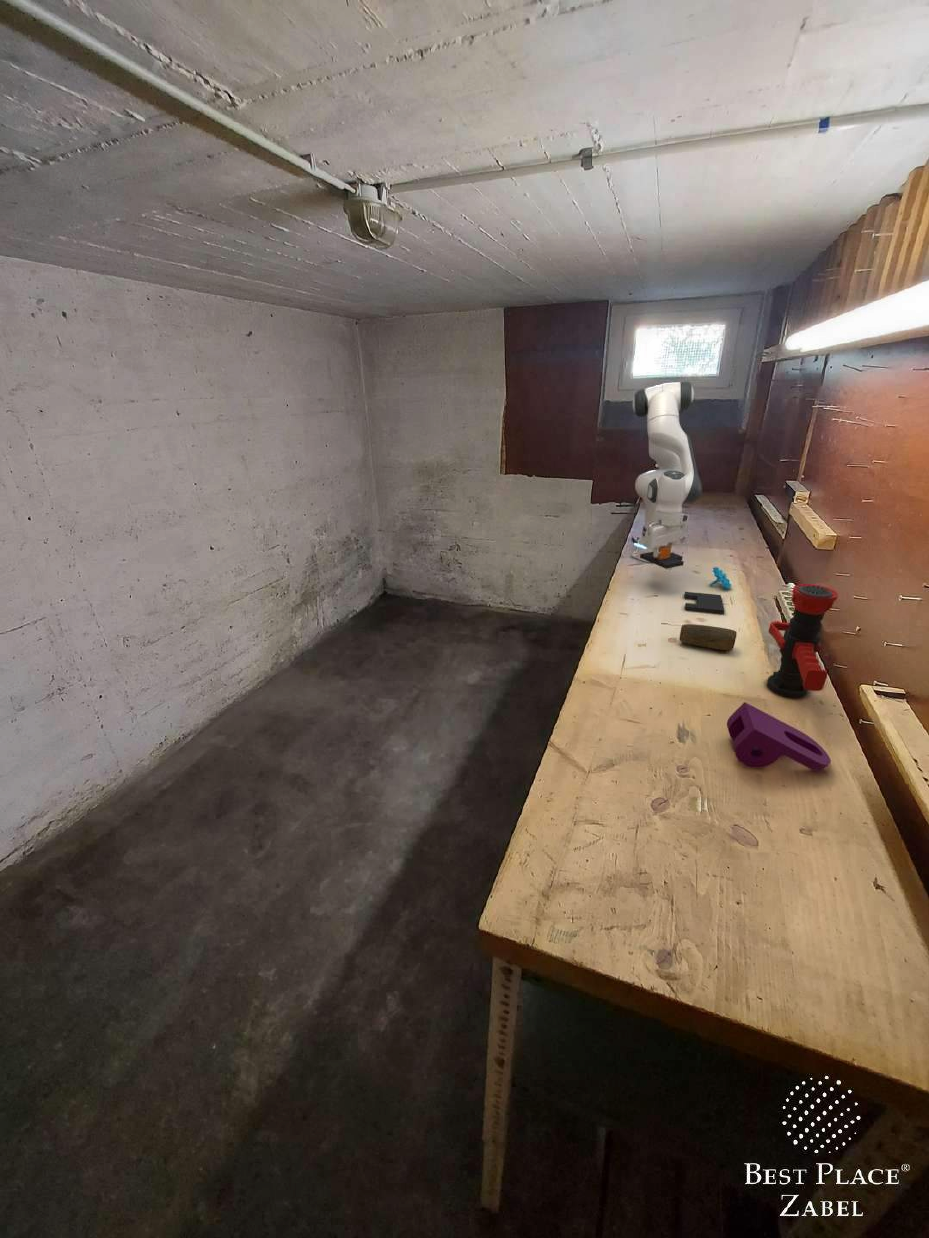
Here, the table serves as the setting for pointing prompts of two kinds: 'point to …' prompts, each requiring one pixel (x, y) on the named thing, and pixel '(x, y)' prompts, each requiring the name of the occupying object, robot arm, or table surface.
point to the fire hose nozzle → (801, 643)
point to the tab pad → (664, 558)
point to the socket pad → (704, 603)
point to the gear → (721, 578)
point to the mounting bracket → (771, 740)
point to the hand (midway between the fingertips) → (662, 554)
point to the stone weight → (708, 636)
